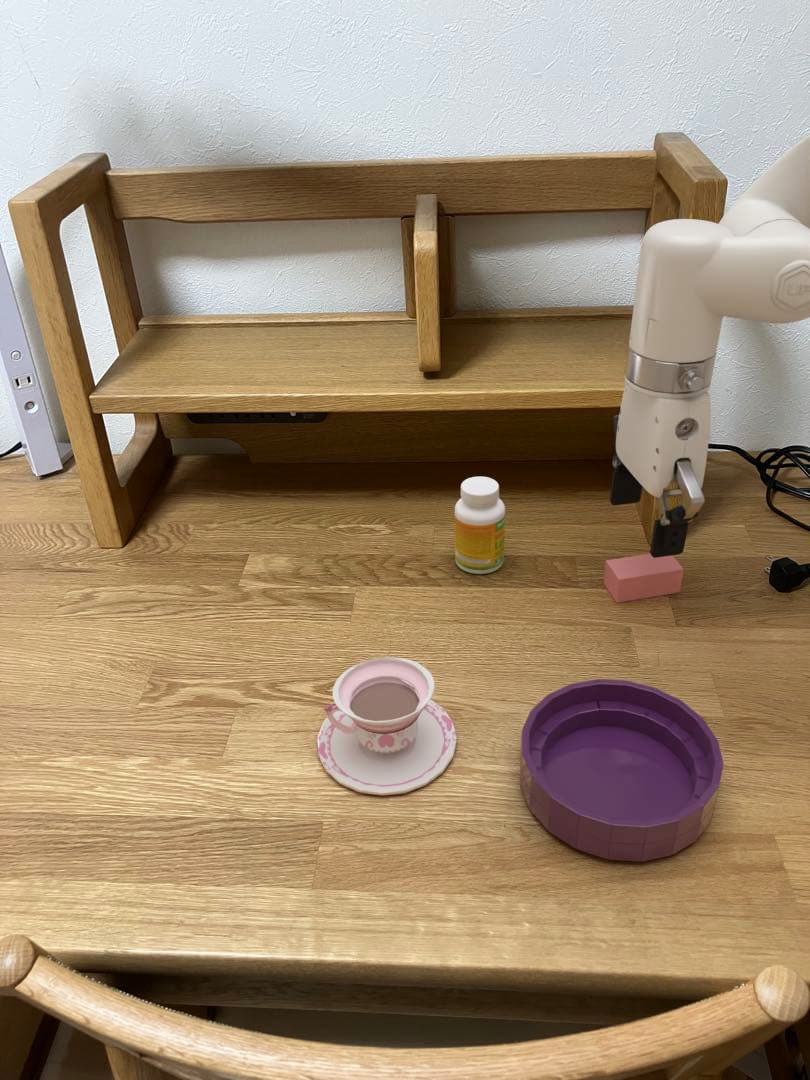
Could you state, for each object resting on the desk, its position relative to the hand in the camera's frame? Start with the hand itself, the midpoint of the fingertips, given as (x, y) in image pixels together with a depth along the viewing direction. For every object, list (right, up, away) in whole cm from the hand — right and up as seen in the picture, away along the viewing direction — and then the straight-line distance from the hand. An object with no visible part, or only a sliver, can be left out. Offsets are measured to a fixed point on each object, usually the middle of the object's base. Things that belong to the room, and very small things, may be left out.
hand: (644, 527), depth 90 cm
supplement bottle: (-16, -4, +9) cm, 19 cm away
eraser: (+1, -6, +4) cm, 8 cm away
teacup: (-26, -19, -12) cm, 34 cm away
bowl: (-7, -21, -17) cm, 28 cm away
